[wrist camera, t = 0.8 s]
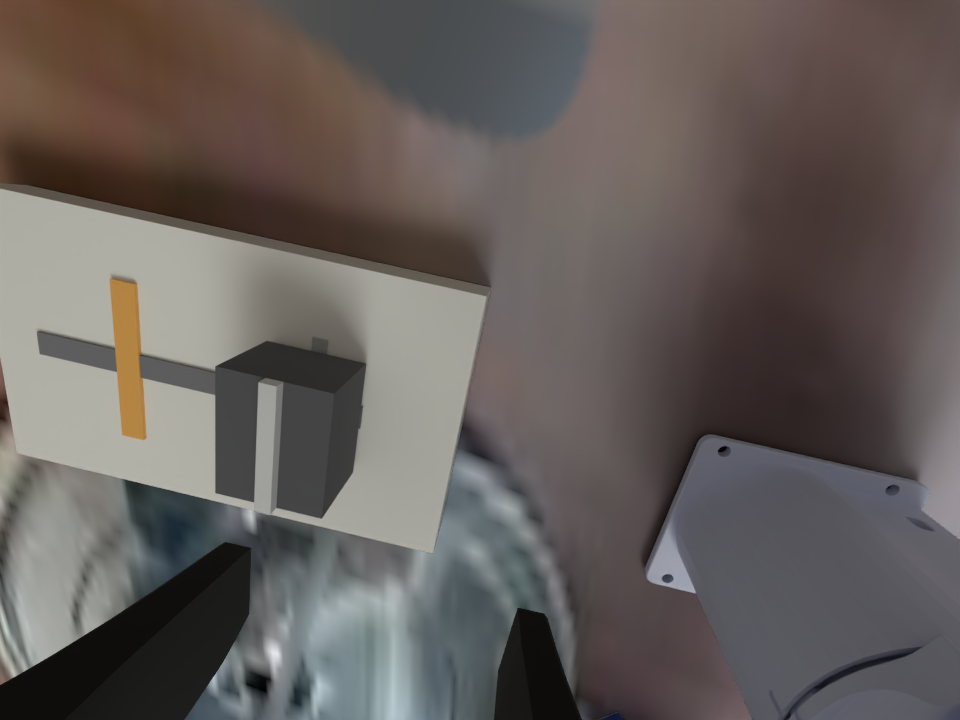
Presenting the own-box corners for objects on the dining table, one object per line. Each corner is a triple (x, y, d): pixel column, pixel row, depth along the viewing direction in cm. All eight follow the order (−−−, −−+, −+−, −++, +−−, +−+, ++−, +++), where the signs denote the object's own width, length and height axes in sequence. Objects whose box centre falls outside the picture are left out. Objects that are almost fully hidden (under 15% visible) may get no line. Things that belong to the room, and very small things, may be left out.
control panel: (491, 287, 18) (486, 297, 16) (441, 524, 22) (432, 556, 20) (26, 184, 19) (-36, 181, 16) (59, 432, 22) (13, 454, 20)
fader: (366, 363, 17) (328, 399, 14) (353, 472, 19) (316, 526, 15) (266, 340, 17) (206, 370, 14) (262, 450, 19) (207, 499, 16)
